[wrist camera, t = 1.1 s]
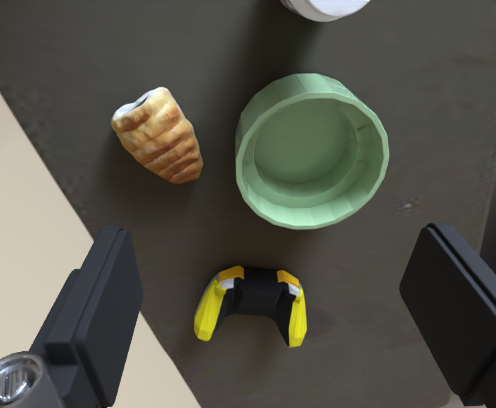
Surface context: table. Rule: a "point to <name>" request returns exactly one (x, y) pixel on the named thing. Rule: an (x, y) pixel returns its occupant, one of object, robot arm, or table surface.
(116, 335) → the robot arm
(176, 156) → the pastry
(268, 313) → the gaming controller
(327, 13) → the pill bottle
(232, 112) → the table surface
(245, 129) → the green bowl
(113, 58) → the table surface
